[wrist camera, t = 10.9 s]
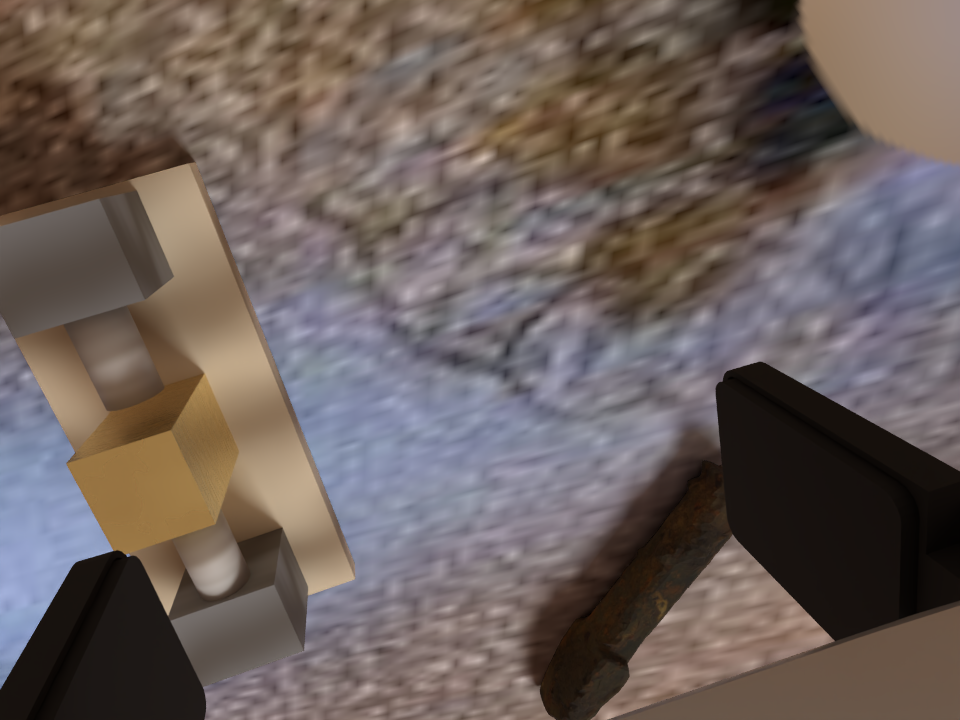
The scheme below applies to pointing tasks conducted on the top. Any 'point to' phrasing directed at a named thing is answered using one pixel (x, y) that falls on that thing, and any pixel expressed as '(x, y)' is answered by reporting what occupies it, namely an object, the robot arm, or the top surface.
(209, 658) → the shaft mount
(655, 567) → the hand tool
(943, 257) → the top surface
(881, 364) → the top surface
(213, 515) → the yellow rectangular block
